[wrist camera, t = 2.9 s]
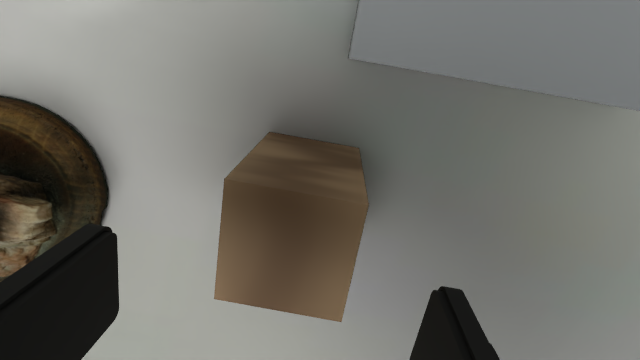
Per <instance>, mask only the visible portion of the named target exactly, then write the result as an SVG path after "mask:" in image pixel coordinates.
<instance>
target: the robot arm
mask: <svg viewBox="0 0 640 360" xmlns="http://www.w3.org/2000/svg"><path fill="white" fill-rule="evenodd" d="M118 311H119V290H118V254H117V236H116V234H115V233H112V230H111V228H109V227H106V226H100V225H95V224H86V225H84V226H83V227H81V228H80V229H78V230H77V231H75V232H74V233H72V234H71V235H69V236H68V237H67V238H65V239H64V240H62V241H61V242H59V243H58V244H56V245H55V246H53V247H52V248H50V249H49V250H47V251H46V252H44V253H43V254H41V255H40V256H38V257H37V258H35V259H34V260H32V261H31V262H29V263H28V264H26V265H25V266H23V267H22V268H20V269H19V270H18V271H16V272H15V273H13V274H12V275H10V276H9V277H7V278H6V279H4V280H3V281H1V282H0V360H81V359H82V358H83V357H84V356H85V354H86V353H87V352H88V351H89V350H90V349H91V347H92V346H93V345H94V344H95V343H96V341H97V340H98V339H99V338H100V337H101V336H102V334H103V333H104V332H105V331H106V330H107V328H108V327H109V326H110V325H111V324H112V323H113V321H114V320H115V318H116V316H117V314H118ZM410 360H500V359H499V357H498V355H497V353H496V351H495V350H494V348H493V346H492V345H491V344H490V343H489V342H488V340H487V338H486V336H485V334H484V332H483V330H482V328H481V326H480V324H479V322H478V320H477V318H476V316H475V314H474V312H473V310H472V308H471V306H470V304H469V302H468V300H467V298H466V297H465V295H464V293H463V291H462V290H460V289H455V288H449V287H444V286H441V287H440V288H439V289H438V291H437V290H433V292H432V293H431V296H430V299H429V302H428V305H427V308H426V311H425V314H424V317H423V320H422V323H421V326H420V329H419V332H418V335H417V338H416V341H415V344H414V347H413V350H412V353H411V356H410Z"/></svg>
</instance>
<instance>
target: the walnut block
mask: <svg viewBox="0 0 640 360" xmlns="http://www.w3.org/2000/svg"><path fill="white" fill-rule="evenodd" d="M368 206H369V203H368V197H367V192H366V186H365V180H364V174H363V168H362V162H361V157H360V151H359V148H356V147H351V146H345V145H340V144H334V143H328V142H323V141H317V140H312V139H306V138H301V137H295V136H290V135H284V134H279V133H273V132H269V133H268V134H267V135H266V136H265V137H264V138H263V139H262V140H261V141H260V142H259V143H258V144H257V145H256V147H255V148H254V149H253V150H252V151H251V152H250V153H249V154H248V155H247V156H246V157H245V158H244V159H243V160H242V161H241V162H240V163H239V164H238V165H237V166H236V167H235V168H234V169H233V170H232V171H231V172H230V174H229V175H228V176H227V177H226V178H225V179H224V189H223V201H222V213H221V224H220V236H219V248H218V260H217V271H216V283H215V295H214V299H217V300H223V301H228V302H234V303H239V304H245V305H250V306H256V307H261V308H267V309H272V310H278V311H283V312H289V313H294V314H300V315H305V316H311V317H316V318H322V319H327V320H333V321H338V322H341V321H342V317H343V313H344V308H345V304H346V300H347V296H348V291H349V287H350V283H351V279H352V274H353V270H354V266H355V262H356V257H357V253H358V249H359V245H360V240H361V236H362V232H363V228H364V223H365V219H366V215H367V210H368Z"/></svg>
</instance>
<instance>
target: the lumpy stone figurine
mask: <svg viewBox="0 0 640 360" xmlns="http://www.w3.org/2000/svg"><path fill="white" fill-rule="evenodd" d="M90 147H91V146H89V144H88V143H87V142H86V141H85V139H84V138H83V137H82V136H81V135H80V134H79V133H78V132H77V131H76V130H75V129H74V128H73V127H71V126H70V125H69V124H68V123H67V122H66V121H65V120H64V119H62V118H61V117H60V116H58V115H56V114H54V113H52V112H51V111H49V110H47V109H45V108H43V107H41V106H39V105H36V104H31V103H28V102H25V101H23V100H18V99H13V98H8V97H7V98H5V97H2V96H0V282H1V281H3V280H4V279H6V278H7V277H9V276H10V275H12V274H13V273H15V272H16V271H18V270H19V269H20V268H22V267H23V266H25V265H26V264H28V263H29V262H31V261H32V260H34V259H35V258H37V257H38V256H40V255H41V254H43V253H44V252H46V251H47V250H49V249H50V248H52V247H53V246H55V245H56V244H58V243H59V242H61V241H62V240H64V239H65V238H67V237H68V236H69V235H71V234H72V233H74V232H75V231H77V230H78V229H80V228H81V227H83V226H84V225H86V224H95V225H100V222H101V217H102V215H101V214H102V210H103V209H105V208H107V207H106V206H107V205H106V204H107V199H108V197H107V192H108V189H107V185H106V182H105V179H104V176H103V173H102V172H103V171H102V170H101V168H100V167H101V166H100V164H99V162H98V159H97V158H96V156H95V155H94V153H93V151H92V149H91V148H90ZM100 226H101V225H100Z"/></svg>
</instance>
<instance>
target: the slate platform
mask: <svg viewBox="0 0 640 360" xmlns="http://www.w3.org/2000/svg"><path fill="white" fill-rule="evenodd" d="M348 58H349V59H354V60H360V61H365V62H371V63H376V64H382V65H388V66H393V67H399V68H404V69H410V70H415V71H421V72H426V73H432V74H438V75H443V76H449V77H454V78H460V79H465V80H471V81H476V82H482V83H488V84H493V85H499V86H504V87H510V88H515V89H521V90H526V91H532V92H538V93H543V94H549V95H554V96H560V97H565V98H571V99H576V100H582V101H587V102H593V103H599V104H604V105H610V106H615V107H621V108H626V109H632V110H637V111H640V0H359V1H358V7H357V12H356V18H355V23H354V28H353V34H352V39H351V45H350V50H349V55H348Z"/></svg>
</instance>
